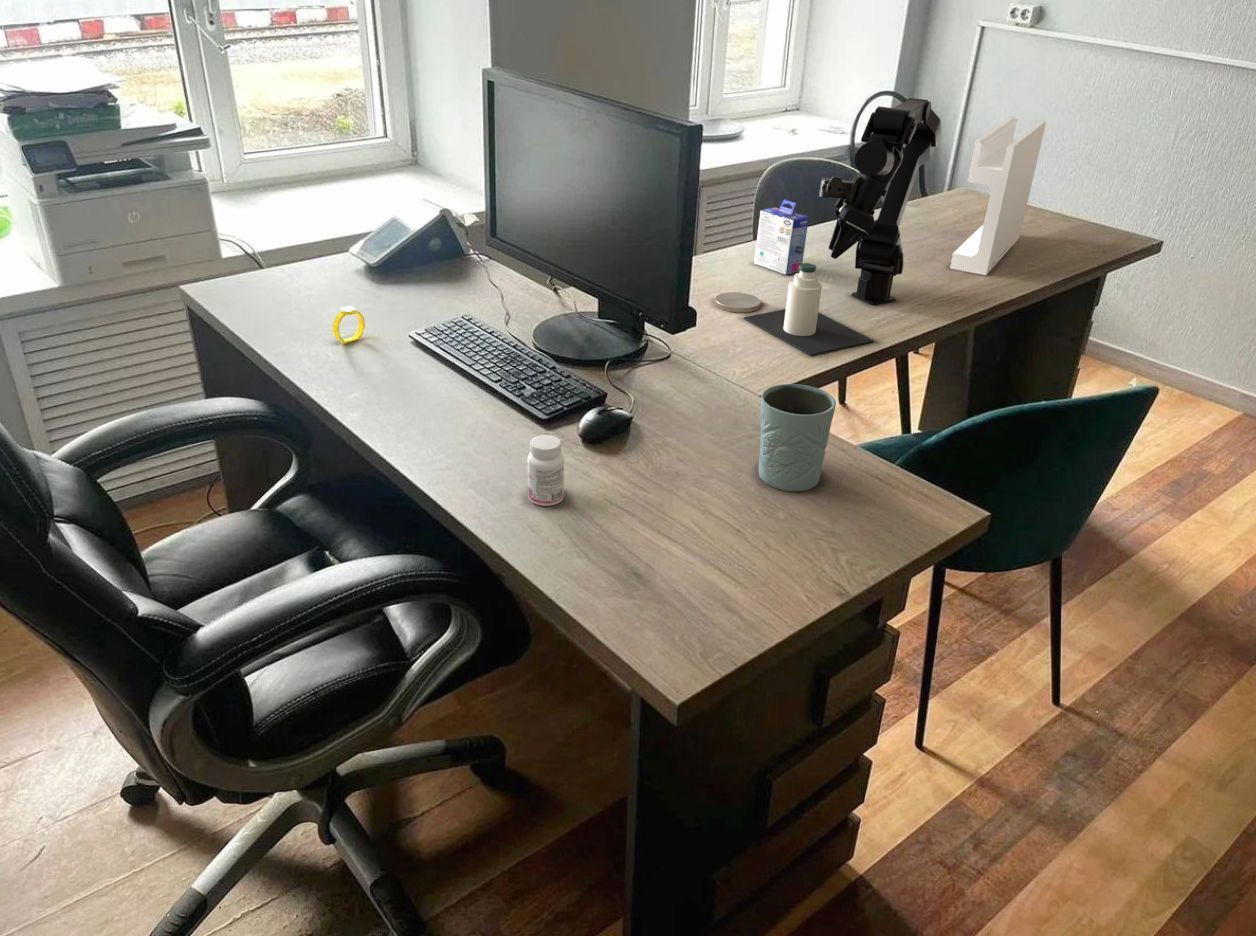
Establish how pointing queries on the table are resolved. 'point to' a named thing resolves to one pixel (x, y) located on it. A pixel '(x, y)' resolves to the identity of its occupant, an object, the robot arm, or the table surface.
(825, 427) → the light blue embossed cup
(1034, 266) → the table surface
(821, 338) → the felt mat
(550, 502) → the pill bottle
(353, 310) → the yellow ring
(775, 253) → the ink cartridge box
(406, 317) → the table surface
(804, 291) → the bottle
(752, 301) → the off-white round coaster
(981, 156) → the white stand
